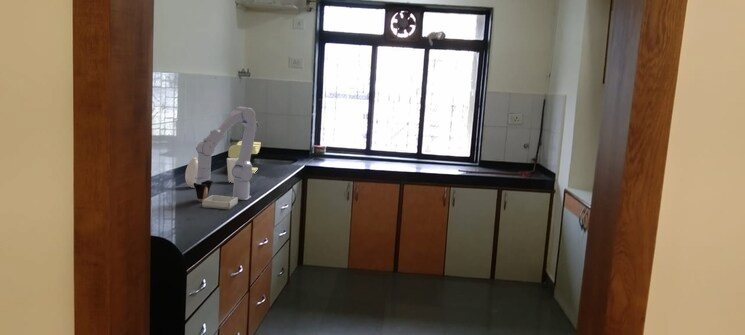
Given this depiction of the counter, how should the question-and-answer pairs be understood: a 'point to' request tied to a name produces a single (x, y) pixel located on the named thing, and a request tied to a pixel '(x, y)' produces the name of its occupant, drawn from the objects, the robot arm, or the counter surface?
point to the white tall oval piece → (191, 172)
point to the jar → (204, 195)
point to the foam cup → (230, 165)
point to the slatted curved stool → (235, 151)
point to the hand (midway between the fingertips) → (202, 197)
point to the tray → (220, 202)
